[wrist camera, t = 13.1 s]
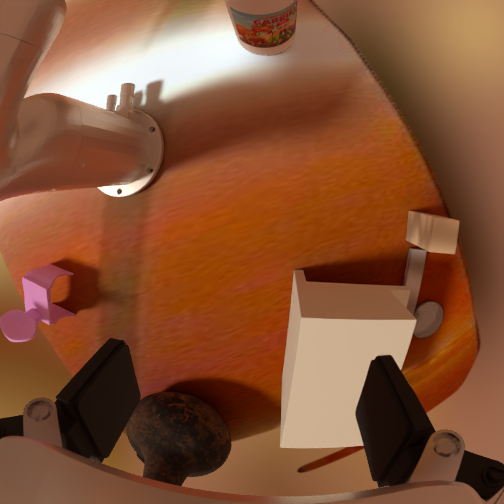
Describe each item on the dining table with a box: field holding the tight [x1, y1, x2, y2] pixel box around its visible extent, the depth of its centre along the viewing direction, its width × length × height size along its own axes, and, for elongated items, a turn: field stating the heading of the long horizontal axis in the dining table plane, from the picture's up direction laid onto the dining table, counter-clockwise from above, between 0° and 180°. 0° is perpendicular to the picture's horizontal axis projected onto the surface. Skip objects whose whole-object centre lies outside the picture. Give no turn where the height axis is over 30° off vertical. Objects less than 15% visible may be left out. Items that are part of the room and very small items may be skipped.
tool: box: [403, 211, 459, 315], centre depth 32 cm, size 20×4×7 cm, turn 177°
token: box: [413, 300, 443, 338], centre depth 36 cm, size 6×6×1 cm
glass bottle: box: [126, 392, 231, 486], centre depth 31 cm, size 18×18×28 cm
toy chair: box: [0, 264, 75, 342], centre depth 34 cm, size 8×9×15 cm
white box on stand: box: [280, 269, 417, 448], centre depth 31 cm, size 18×14×14 cm
